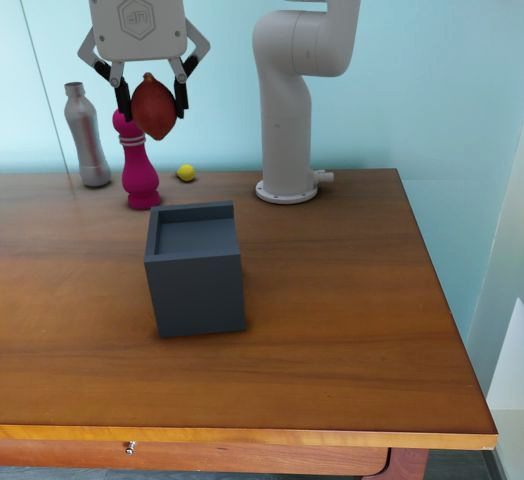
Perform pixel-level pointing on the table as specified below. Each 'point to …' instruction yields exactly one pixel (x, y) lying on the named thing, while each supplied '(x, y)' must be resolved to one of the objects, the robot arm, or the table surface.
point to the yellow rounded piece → (185, 172)
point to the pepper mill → (136, 165)
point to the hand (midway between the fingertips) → (155, 116)
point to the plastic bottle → (86, 136)
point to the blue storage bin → (194, 269)
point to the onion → (153, 108)
